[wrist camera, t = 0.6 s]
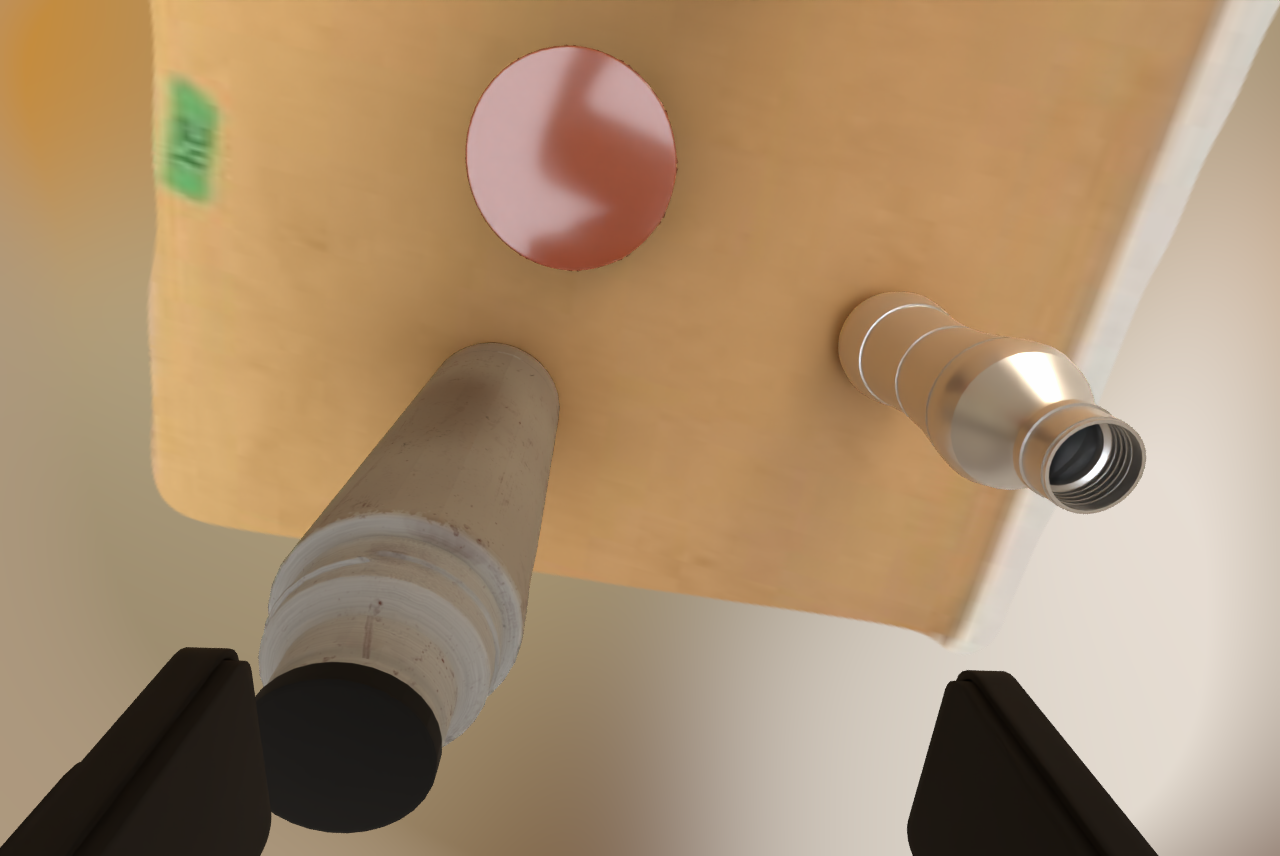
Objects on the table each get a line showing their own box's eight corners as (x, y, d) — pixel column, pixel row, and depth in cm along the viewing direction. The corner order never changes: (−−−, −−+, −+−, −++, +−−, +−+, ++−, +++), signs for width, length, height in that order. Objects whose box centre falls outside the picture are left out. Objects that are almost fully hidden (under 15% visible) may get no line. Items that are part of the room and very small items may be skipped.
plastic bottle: (873, 410, 45) (1070, 584, 26) (805, 337, 43) (965, 469, 24) (954, 338, 43) (1223, 468, 25) (887, 260, 41) (1124, 336, 23)
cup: (479, 103, 31) (434, 78, 22) (634, 60, 30) (648, 18, 22) (527, 261, 33) (503, 293, 25) (671, 223, 33) (696, 241, 24)
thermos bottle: (532, 482, 45) (439, 916, 19) (411, 437, 44) (129, 841, 17) (579, 372, 43) (547, 693, 17) (453, 321, 41) (199, 585, 15)
